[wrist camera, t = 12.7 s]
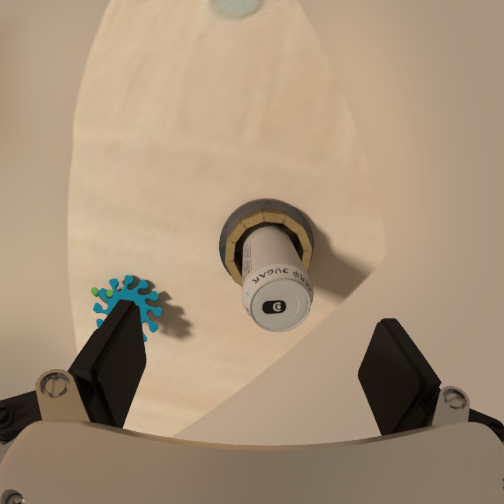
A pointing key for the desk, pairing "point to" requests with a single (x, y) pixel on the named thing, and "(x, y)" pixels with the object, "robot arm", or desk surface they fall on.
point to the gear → (114, 297)
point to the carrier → (261, 215)
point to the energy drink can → (274, 280)
